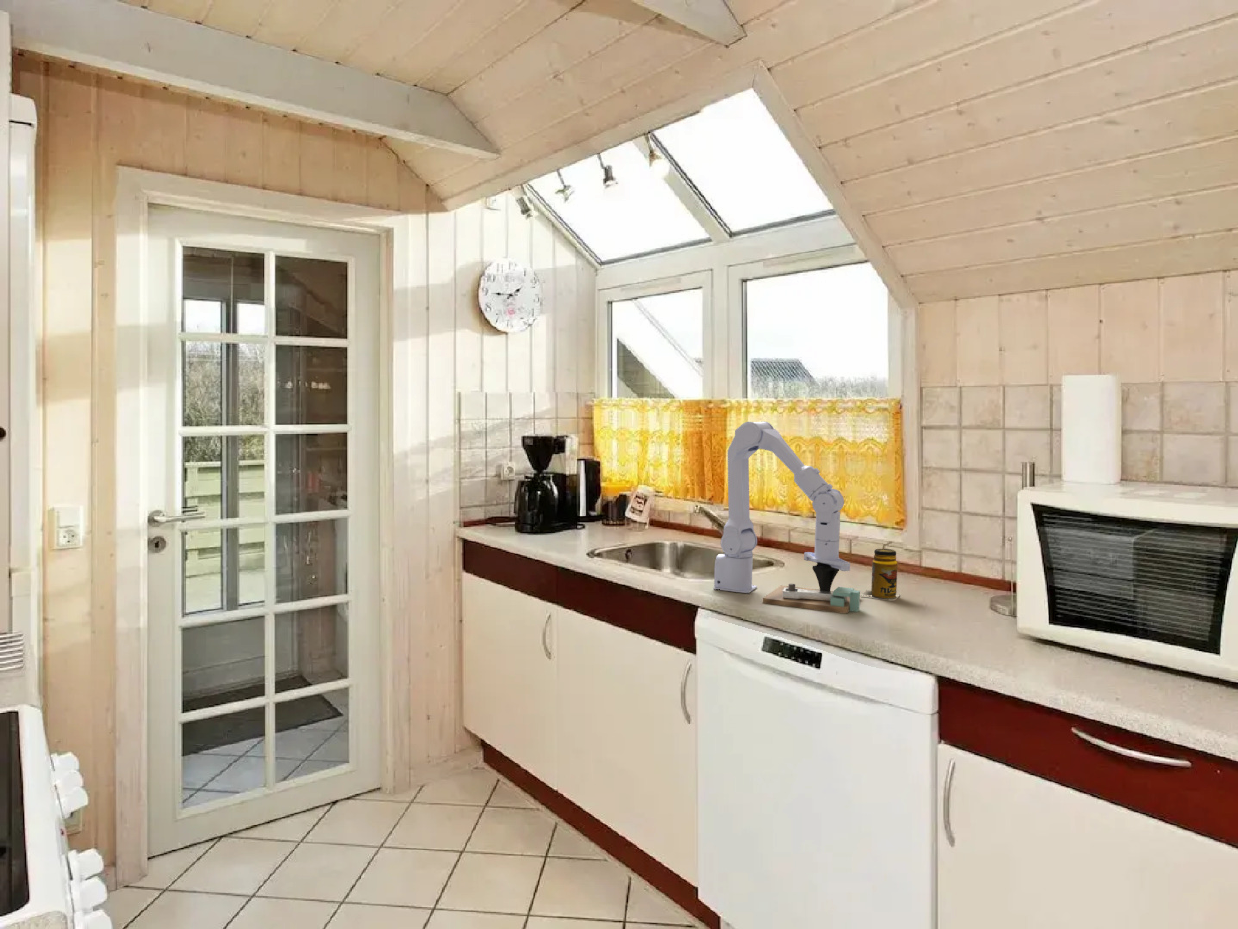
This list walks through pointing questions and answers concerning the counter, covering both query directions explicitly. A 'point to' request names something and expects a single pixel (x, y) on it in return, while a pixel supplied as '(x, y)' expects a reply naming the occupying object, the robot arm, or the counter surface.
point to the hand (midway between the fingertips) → (825, 594)
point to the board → (803, 601)
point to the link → (810, 594)
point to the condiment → (883, 575)
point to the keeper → (846, 592)
